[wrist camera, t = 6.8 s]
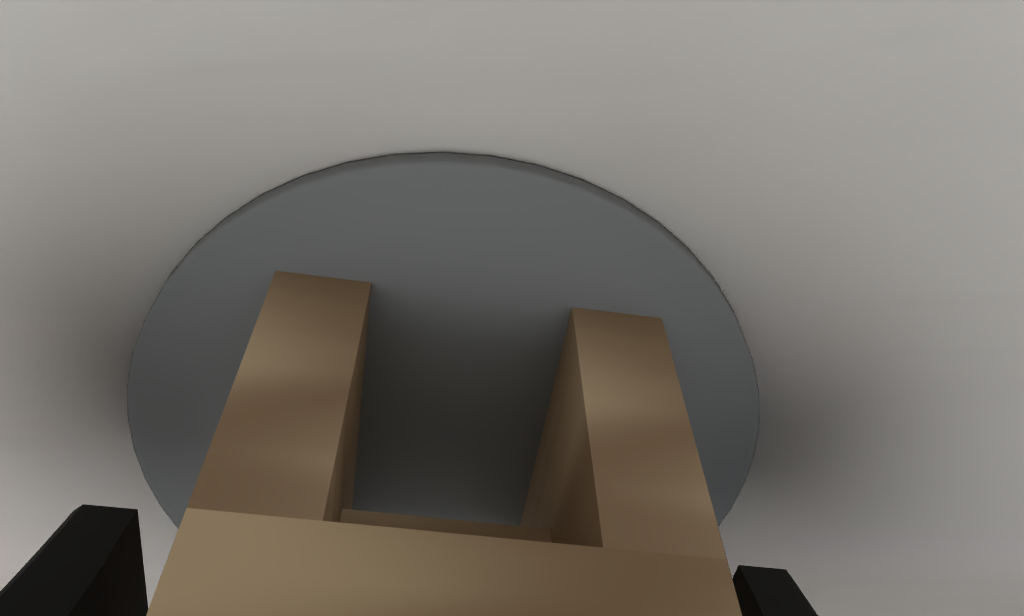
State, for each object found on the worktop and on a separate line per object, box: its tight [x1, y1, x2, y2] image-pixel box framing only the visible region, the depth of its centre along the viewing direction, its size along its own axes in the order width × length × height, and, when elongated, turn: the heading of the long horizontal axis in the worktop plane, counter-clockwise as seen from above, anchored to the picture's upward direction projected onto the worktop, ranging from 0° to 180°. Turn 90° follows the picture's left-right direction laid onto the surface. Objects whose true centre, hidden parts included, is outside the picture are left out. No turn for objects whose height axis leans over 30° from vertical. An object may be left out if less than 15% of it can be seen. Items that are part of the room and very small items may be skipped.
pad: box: [127, 153, 759, 529], centre depth 13 cm, size 9×9×1 cm
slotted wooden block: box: [146, 271, 742, 616], centre depth 11 cm, size 5×5×6 cm
